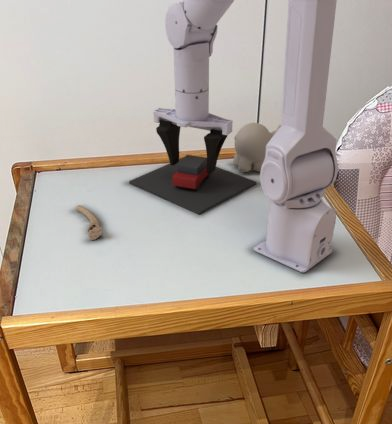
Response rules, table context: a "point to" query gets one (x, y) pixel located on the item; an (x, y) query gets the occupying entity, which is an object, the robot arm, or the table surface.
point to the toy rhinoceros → (251, 146)
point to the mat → (188, 198)
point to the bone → (94, 229)
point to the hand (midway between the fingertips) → (192, 167)
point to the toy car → (190, 172)
